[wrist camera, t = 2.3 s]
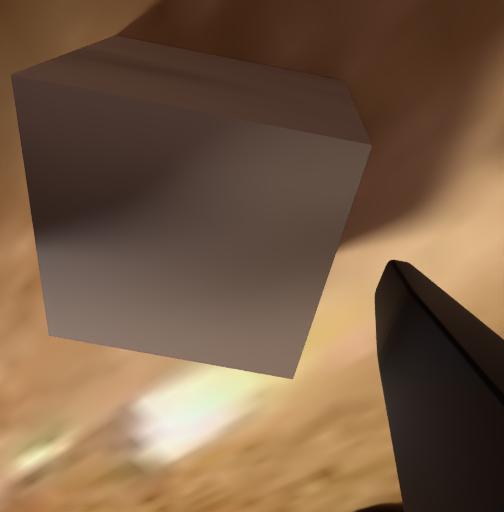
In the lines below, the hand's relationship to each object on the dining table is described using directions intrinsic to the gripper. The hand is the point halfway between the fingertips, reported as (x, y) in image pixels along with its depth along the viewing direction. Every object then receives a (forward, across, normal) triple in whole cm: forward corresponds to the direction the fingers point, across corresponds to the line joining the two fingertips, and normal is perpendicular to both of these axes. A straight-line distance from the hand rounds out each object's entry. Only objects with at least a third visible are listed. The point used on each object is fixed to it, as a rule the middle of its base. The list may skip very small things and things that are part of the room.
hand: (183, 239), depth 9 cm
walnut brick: (+4, 0, 0) cm, 4 cm away
